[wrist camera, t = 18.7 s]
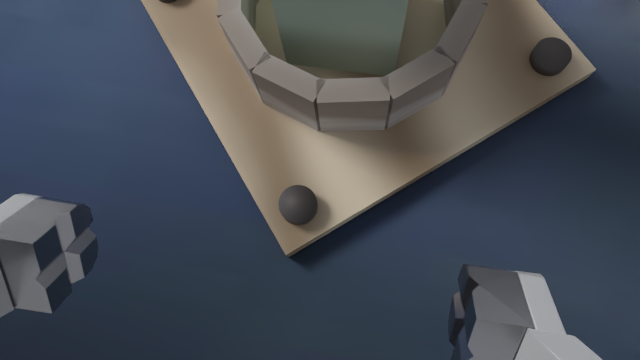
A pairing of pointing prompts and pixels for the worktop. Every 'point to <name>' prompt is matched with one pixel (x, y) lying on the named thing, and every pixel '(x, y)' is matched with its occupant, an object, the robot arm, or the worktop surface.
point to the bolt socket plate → (362, 153)
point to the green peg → (342, 33)
